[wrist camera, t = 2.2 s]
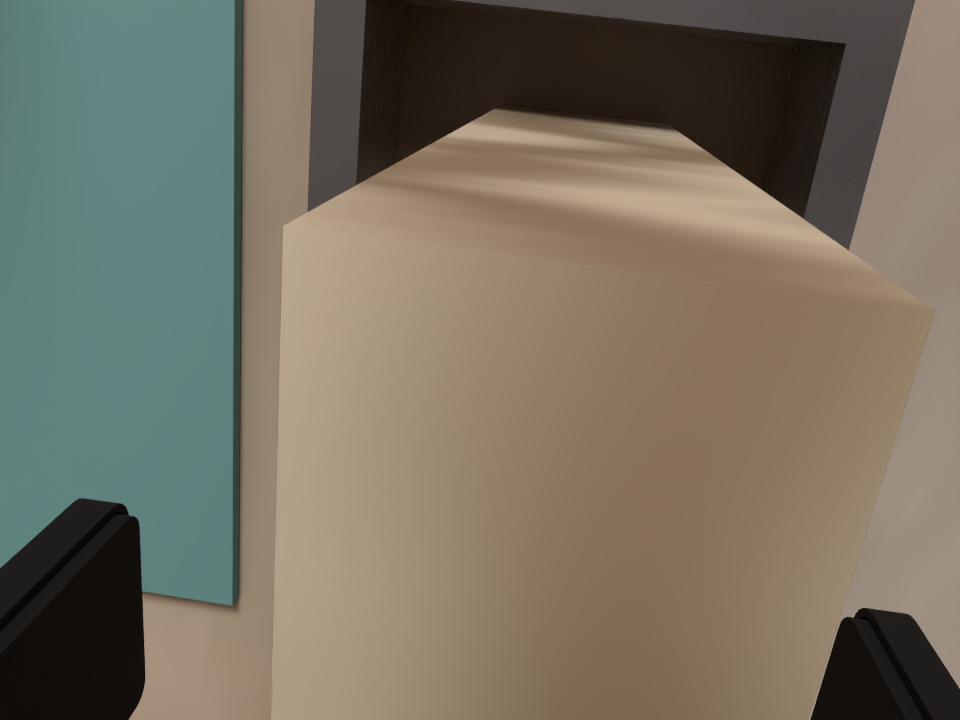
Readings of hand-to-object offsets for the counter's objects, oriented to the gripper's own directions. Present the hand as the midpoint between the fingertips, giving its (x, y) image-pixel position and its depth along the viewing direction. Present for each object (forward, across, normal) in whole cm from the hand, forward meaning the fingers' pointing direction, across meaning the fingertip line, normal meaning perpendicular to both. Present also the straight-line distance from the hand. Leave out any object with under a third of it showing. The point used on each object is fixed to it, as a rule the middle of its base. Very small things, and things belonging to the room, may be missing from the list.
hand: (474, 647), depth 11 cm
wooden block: (+12, -1, 0) cm, 12 cm away
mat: (+12, +12, 0) cm, 17 cm away
